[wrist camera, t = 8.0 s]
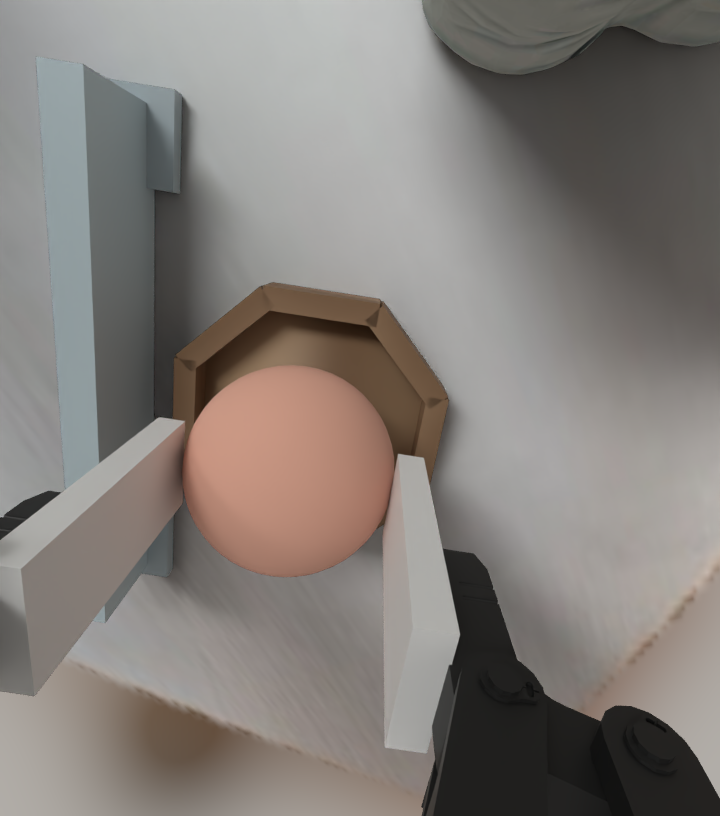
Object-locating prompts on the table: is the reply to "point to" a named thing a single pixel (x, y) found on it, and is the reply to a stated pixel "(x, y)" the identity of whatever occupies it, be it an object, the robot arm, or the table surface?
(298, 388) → the ball
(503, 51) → the teapot
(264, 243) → the table surface
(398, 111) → the table surface
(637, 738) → the robot arm
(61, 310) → the low wall
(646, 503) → the table surface
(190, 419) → the cork ring
